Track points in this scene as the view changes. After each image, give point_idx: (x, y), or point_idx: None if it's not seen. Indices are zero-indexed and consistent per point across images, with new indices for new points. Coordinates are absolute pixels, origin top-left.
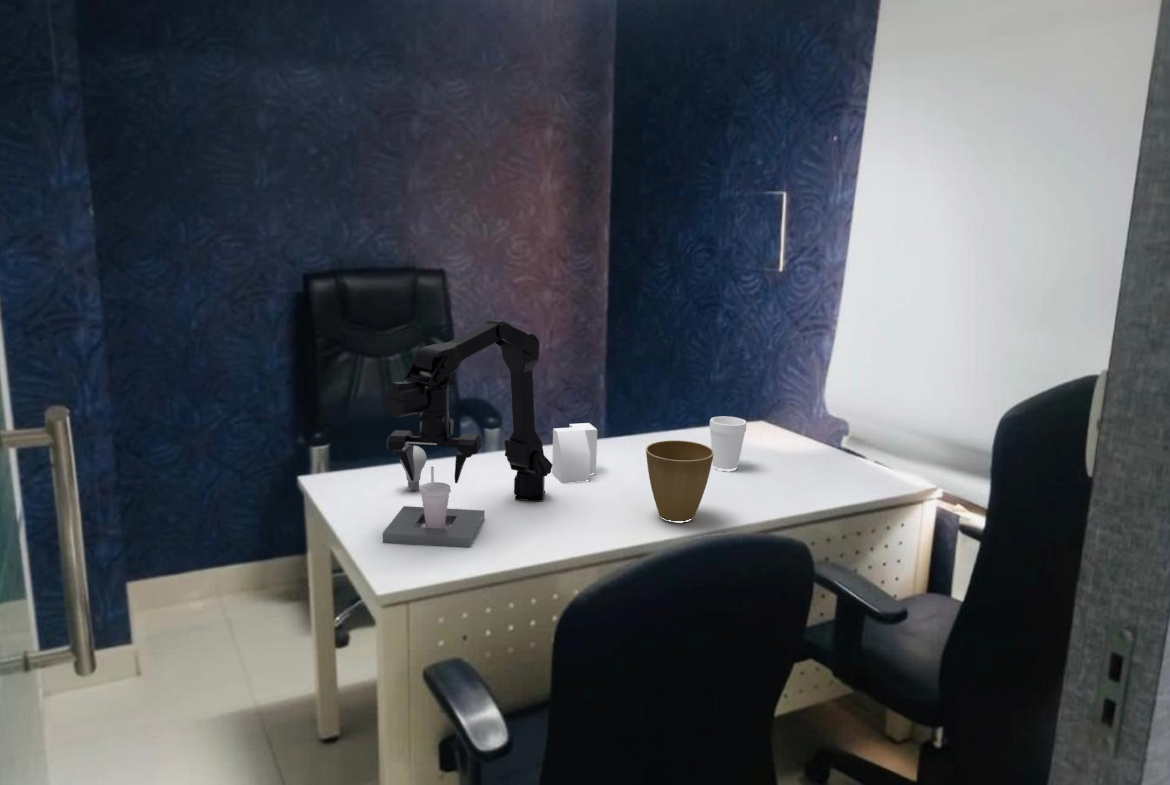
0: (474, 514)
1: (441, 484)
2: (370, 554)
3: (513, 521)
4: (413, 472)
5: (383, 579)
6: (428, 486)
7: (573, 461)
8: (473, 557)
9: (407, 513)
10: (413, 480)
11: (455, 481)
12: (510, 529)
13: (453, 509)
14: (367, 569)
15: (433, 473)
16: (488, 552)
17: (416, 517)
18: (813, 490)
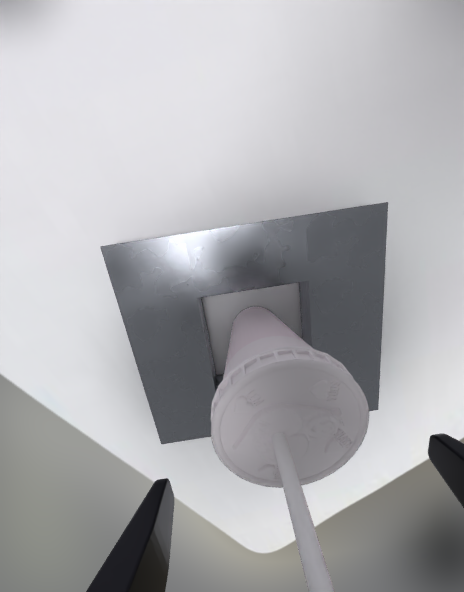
0: (360, 250)
1: (313, 392)
2: (174, 473)
3: (455, 197)
4: (158, 563)
5: (247, 534)
6: (258, 445)
7: None
8: (377, 429)
9: (149, 306)
10: (173, 495)
11: (443, 472)
12: (448, 262)
13: (279, 225)
14: (203, 517)
15: (315, 535)
16: (405, 401)
17: (192, 327)
18: None
